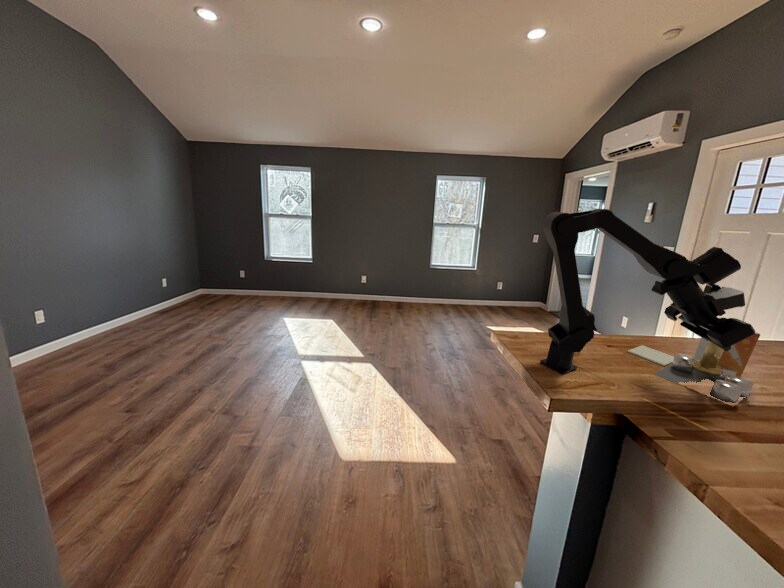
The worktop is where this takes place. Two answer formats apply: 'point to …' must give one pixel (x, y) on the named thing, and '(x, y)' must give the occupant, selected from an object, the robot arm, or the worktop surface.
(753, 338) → the small box
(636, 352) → the coaster
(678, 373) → the mat
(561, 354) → the robot arm
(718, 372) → the brass pin
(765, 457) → the worktop surface
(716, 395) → the spacers
